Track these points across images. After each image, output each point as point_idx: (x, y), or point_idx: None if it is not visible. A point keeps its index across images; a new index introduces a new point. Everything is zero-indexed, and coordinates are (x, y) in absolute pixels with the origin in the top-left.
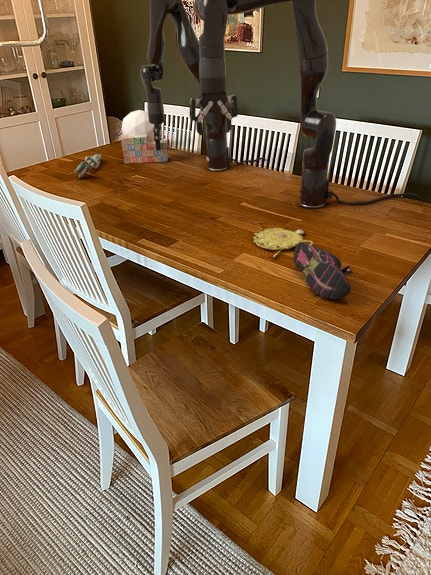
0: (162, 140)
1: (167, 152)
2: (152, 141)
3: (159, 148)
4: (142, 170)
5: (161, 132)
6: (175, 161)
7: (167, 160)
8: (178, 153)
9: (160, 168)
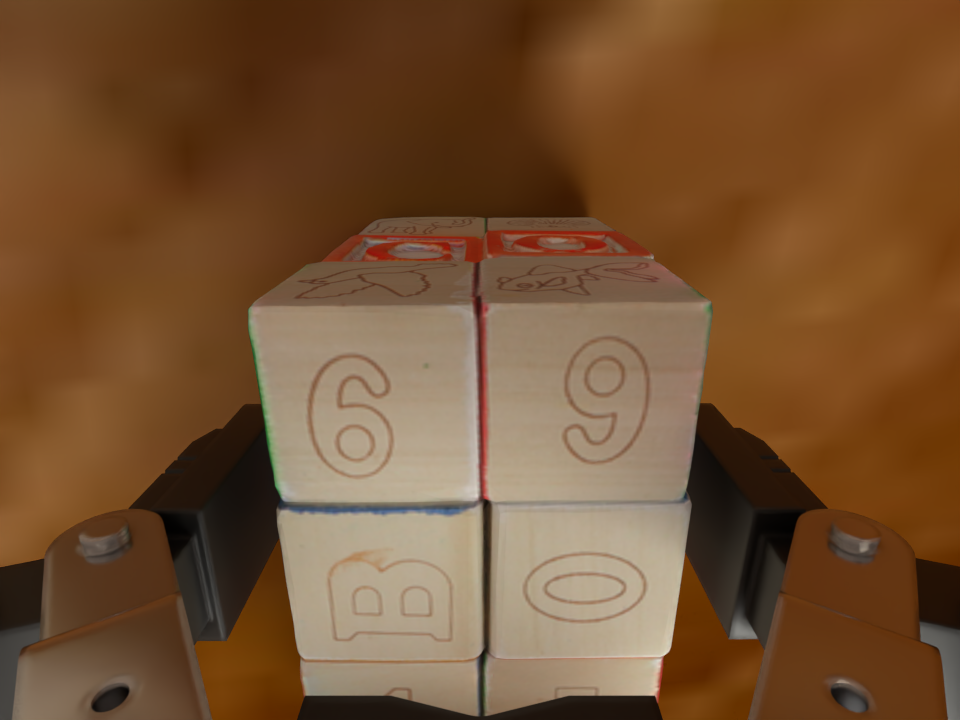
0: (356, 441)
1: (413, 237)
2: (461, 692)
3: (747, 437)
4: (917, 538)
5: (200, 677)
6: (571, 59)
7: (572, 218)
8: (17, 29)
9: (916, 304)
